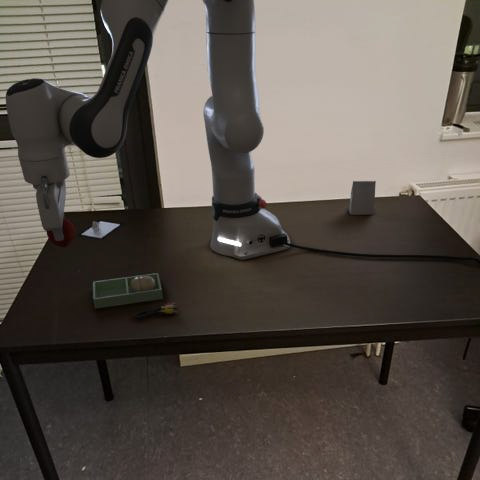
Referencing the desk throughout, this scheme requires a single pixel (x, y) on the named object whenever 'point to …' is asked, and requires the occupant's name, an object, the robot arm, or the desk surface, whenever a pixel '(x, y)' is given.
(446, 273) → the desk surface
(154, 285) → the cream rounded lump
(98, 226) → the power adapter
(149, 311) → the composite cable
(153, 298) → the holder
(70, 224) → the onion
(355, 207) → the grey rectangular block
